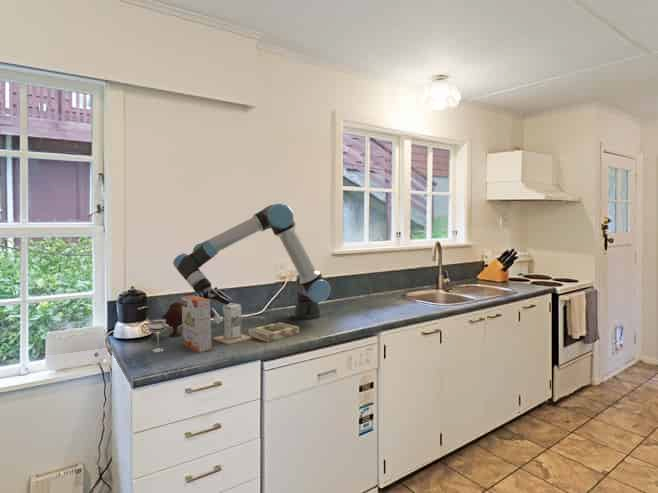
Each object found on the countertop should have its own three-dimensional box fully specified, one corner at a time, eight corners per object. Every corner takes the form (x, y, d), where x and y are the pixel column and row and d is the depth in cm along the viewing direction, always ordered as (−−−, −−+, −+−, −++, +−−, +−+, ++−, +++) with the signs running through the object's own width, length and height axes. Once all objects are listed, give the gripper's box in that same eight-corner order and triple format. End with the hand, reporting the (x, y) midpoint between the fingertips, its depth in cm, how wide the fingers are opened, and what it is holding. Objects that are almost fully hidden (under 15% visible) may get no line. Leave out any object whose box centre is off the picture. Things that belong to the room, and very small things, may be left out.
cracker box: (182, 346, 173) (180, 296, 172) (195, 343, 177) (194, 294, 176) (198, 353, 163) (196, 300, 162) (212, 350, 167) (210, 298, 166)
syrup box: (233, 334, 187) (232, 302, 186) (242, 336, 183) (241, 304, 182) (223, 337, 182) (222, 305, 182) (231, 339, 179) (230, 306, 178)
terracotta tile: (236, 334, 191) (236, 332, 191) (251, 338, 183) (251, 337, 183) (213, 339, 182) (213, 337, 182) (228, 344, 174) (228, 343, 174)
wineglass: (169, 347, 171) (168, 318, 171) (163, 352, 165) (162, 322, 164) (153, 347, 171) (152, 319, 170) (146, 353, 164) (145, 323, 164)
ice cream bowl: (162, 333, 193) (161, 301, 192) (187, 331, 197) (186, 300, 196) (162, 339, 183) (160, 306, 182) (188, 337, 187) (187, 304, 186)
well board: (279, 328, 201) (279, 322, 201) (299, 333, 191) (299, 326, 191) (248, 335, 188) (248, 329, 188) (268, 341, 178) (267, 334, 178)
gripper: (211, 284, 199) (239, 317, 195) (175, 293, 176) (206, 330, 171) (220, 273, 197) (248, 307, 193) (186, 281, 173) (217, 319, 169)
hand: (229, 318), depth 182 cm, fingers open, 13 cm apart
